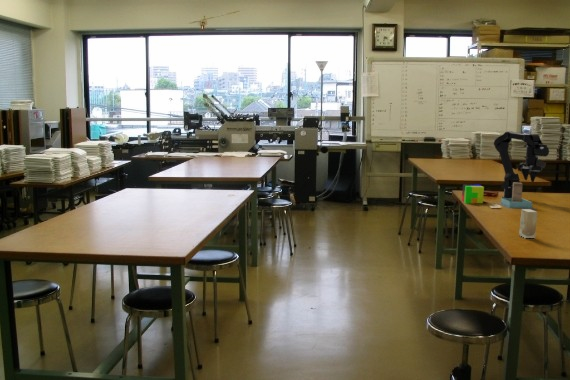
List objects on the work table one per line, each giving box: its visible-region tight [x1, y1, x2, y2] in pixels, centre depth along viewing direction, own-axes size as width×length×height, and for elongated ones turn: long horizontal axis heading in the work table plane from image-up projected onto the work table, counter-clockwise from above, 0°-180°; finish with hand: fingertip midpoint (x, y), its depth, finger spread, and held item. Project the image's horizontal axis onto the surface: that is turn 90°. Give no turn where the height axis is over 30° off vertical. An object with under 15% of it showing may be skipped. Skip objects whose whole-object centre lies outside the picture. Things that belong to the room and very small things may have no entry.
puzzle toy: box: [461, 183, 485, 205], centre depth 336 cm, size 10×10×10 cm
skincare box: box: [518, 209, 538, 239], centre depth 245 cm, size 6×4×12 cm
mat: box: [496, 202, 537, 210], centre depth 324 cm, size 18×16×1 cm
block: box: [512, 182, 524, 202], centre depth 323 cm, size 4×4×12 cm
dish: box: [500, 197, 533, 208], centre depth 324 cm, size 13×13×3 cm
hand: (529, 181), depth 337 cm, fingers open, 9 cm apart
